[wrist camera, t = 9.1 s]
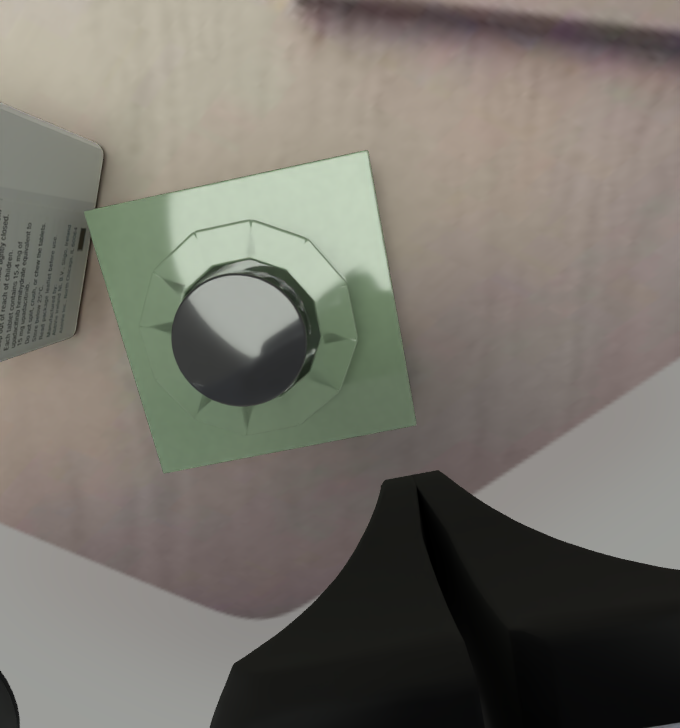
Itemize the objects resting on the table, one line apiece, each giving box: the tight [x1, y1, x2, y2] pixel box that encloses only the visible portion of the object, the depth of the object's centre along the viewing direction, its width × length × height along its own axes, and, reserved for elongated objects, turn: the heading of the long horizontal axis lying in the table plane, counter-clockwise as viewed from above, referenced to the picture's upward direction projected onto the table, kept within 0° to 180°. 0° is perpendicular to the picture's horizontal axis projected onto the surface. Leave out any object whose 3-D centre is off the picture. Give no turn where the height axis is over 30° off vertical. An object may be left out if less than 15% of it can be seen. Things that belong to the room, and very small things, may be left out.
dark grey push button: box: [171, 270, 311, 407], centre depth 16 cm, size 4×4×2 cm
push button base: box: [84, 150, 417, 473], centre depth 19 cm, size 10×10×4 cm
